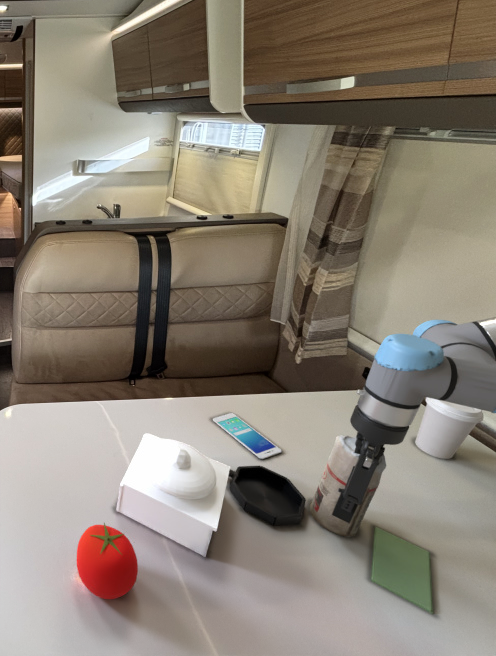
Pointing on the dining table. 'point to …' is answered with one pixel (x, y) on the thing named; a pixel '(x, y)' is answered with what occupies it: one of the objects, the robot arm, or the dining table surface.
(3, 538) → the dining table surface
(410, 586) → the green flat panel
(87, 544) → the tomato
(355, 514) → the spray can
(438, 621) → the dining table surface
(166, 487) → the butter dish
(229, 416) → the smartphone
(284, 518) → the black octagonal pan
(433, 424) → the coffee cup
